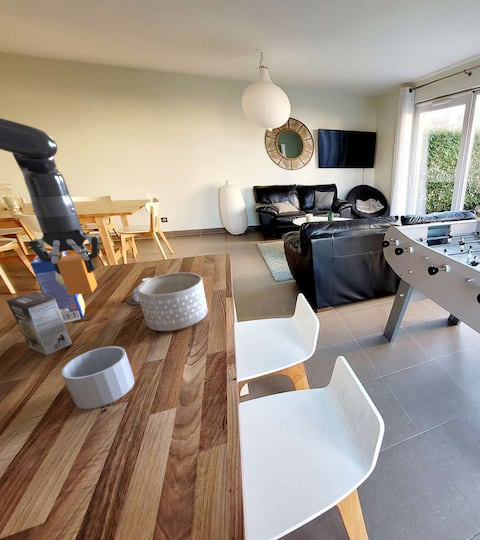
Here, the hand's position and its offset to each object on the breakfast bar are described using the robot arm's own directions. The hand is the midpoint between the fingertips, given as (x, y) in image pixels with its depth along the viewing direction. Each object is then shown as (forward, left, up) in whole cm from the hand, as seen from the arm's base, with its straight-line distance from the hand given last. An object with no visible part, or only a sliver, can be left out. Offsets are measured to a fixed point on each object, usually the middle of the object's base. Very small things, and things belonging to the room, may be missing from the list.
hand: (77, 273), depth 80 cm
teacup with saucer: (+7, +28, -23) cm, 37 cm away
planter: (+20, +5, -23) cm, 31 cm away
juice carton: (0, 0, -5) cm, 5 cm away
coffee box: (-13, +3, -23) cm, 27 cm away
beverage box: (-14, +23, -23) cm, 36 cm away
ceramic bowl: (+6, -25, -23) cm, 34 cm away
